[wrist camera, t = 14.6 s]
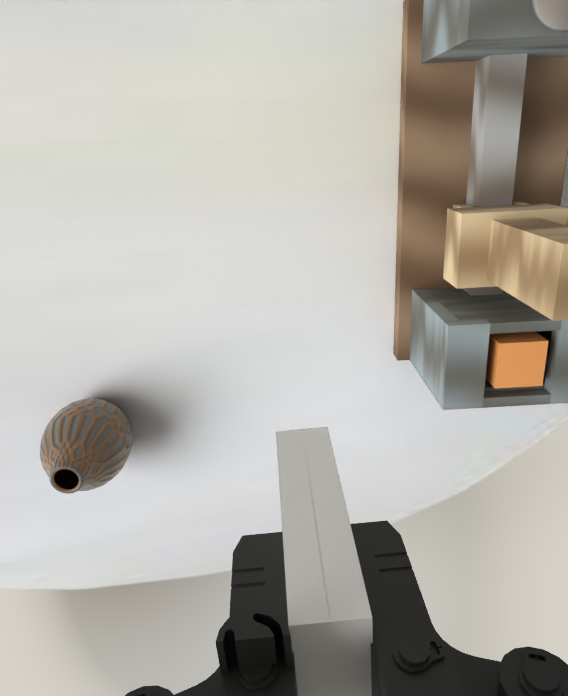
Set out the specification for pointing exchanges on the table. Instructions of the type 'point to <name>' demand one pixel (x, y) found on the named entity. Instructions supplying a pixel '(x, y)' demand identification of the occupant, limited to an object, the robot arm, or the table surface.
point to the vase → (85, 445)
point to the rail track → (449, 157)
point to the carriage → (511, 252)
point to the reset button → (516, 359)
